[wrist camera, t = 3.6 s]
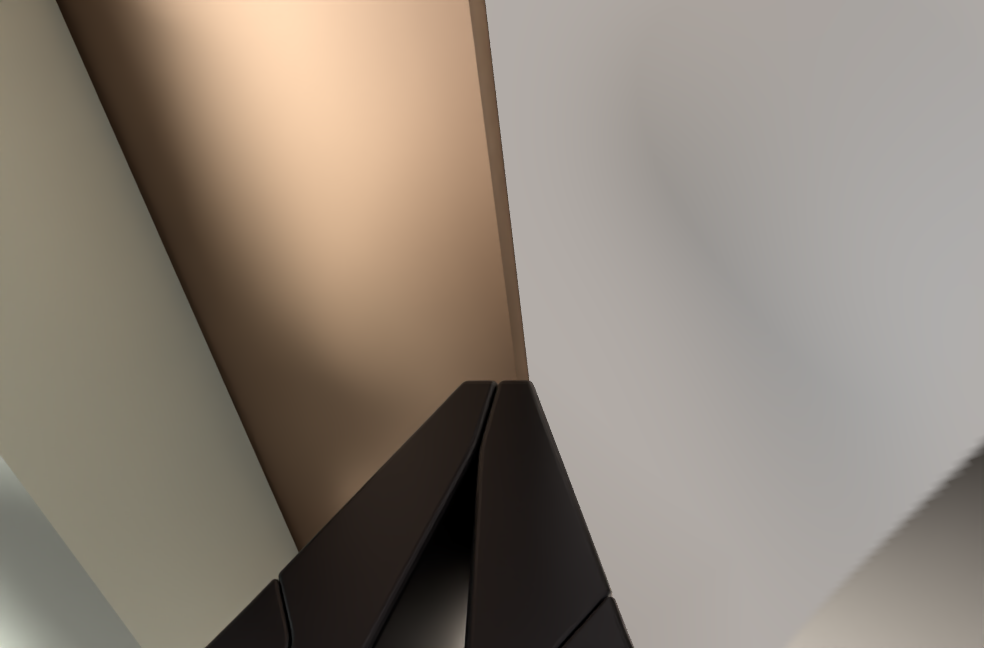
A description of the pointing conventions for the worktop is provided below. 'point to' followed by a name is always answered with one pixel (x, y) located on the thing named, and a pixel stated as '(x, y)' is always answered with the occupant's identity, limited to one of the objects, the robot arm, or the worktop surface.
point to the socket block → (107, 390)
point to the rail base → (321, 212)
